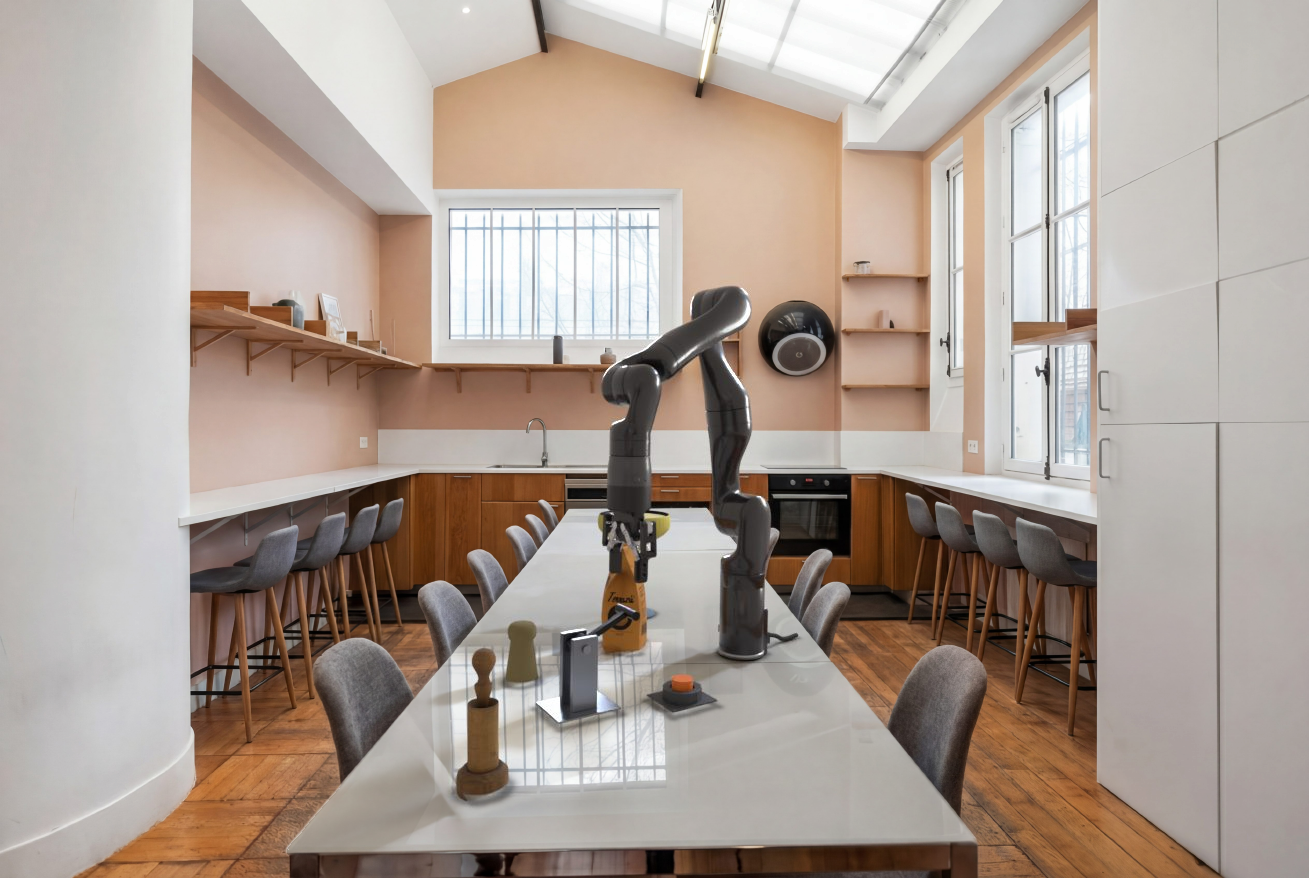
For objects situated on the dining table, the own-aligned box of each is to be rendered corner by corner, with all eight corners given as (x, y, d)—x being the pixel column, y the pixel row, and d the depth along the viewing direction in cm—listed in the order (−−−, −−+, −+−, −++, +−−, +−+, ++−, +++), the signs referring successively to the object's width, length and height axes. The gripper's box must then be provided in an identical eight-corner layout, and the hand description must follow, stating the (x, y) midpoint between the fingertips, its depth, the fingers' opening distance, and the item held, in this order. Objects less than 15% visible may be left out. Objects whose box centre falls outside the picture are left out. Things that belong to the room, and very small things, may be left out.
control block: (689, 690, 122) (689, 674, 122) (717, 706, 115) (717, 689, 115) (646, 701, 117) (646, 683, 117) (673, 718, 110) (673, 699, 110)
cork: (530, 689, 121) (531, 627, 121) (499, 686, 122) (499, 625, 122) (543, 677, 127) (544, 618, 127) (512, 674, 128) (513, 616, 128)
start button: (684, 682, 118) (684, 672, 118) (696, 689, 115) (697, 679, 115) (667, 686, 116) (667, 676, 116) (679, 694, 113) (679, 683, 113)
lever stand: (595, 695, 119) (596, 622, 119) (620, 714, 111) (622, 636, 111) (535, 709, 113) (536, 631, 113) (558, 730, 105) (559, 647, 105)
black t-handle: (624, 611, 120) (619, 599, 119) (642, 619, 115) (637, 607, 114) (566, 650, 114) (561, 638, 113) (582, 661, 109) (577, 648, 108)
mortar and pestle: (462, 775, 91) (463, 641, 91) (511, 774, 92) (512, 640, 91) (451, 803, 85) (452, 658, 84) (504, 801, 85) (506, 657, 85)
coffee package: (594, 655, 140) (596, 547, 139) (605, 636, 152) (606, 538, 152) (642, 657, 139) (644, 549, 138) (649, 638, 151) (651, 539, 151)
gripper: (671, 485, 112) (669, 583, 113) (627, 478, 124) (625, 568, 125) (631, 486, 108) (629, 588, 109) (590, 480, 120) (588, 572, 121)
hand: (627, 577), depth 117 cm, fingers open, 8 cm apart
